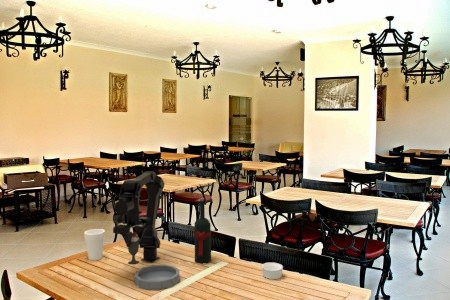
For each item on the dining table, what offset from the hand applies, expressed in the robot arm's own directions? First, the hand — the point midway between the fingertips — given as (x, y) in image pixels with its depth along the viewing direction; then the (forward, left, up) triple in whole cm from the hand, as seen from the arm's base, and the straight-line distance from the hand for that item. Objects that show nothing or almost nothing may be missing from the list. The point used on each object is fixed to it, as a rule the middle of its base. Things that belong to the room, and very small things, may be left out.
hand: (133, 244), depth 166 cm
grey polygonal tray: (+1, +13, -13) cm, 18 cm away
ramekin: (-23, +55, -13) cm, 61 cm away
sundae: (0, 0, -8) cm, 8 cm away
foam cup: (-8, -30, -13) cm, 34 cm away
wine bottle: (-25, +20, -13) cm, 34 cm away
